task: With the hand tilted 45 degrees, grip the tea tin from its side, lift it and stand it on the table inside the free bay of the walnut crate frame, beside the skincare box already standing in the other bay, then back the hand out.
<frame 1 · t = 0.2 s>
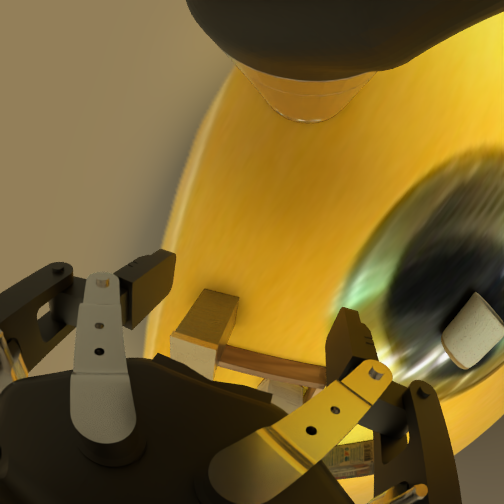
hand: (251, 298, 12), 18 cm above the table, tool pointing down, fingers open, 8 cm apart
skincare box: (281, 385, 38), resting in crate
beverage carton: (335, 450, 44), on the table
ceramic mug: (468, 318, 29), on the table
tea tin: (219, 307, 35), on the table
crate: (256, 380, 38), on the table
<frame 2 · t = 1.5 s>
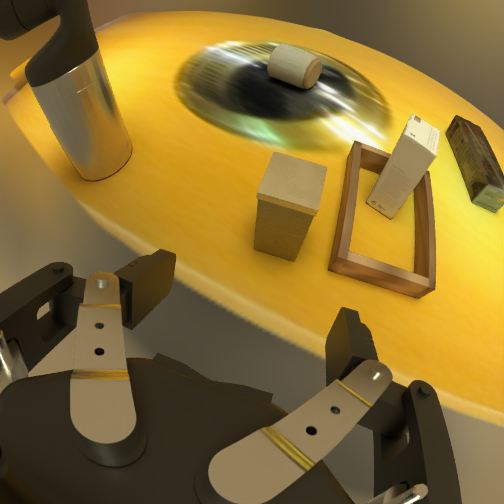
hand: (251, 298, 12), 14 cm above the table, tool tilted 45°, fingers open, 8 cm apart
skincare box: (383, 197, 34), resting in crate
beverage carton: (469, 171, 39), on the table
ceramic mug: (295, 80, 45), on the table
tea tin: (279, 237, 30), on the table
crate: (383, 220, 32), on the table
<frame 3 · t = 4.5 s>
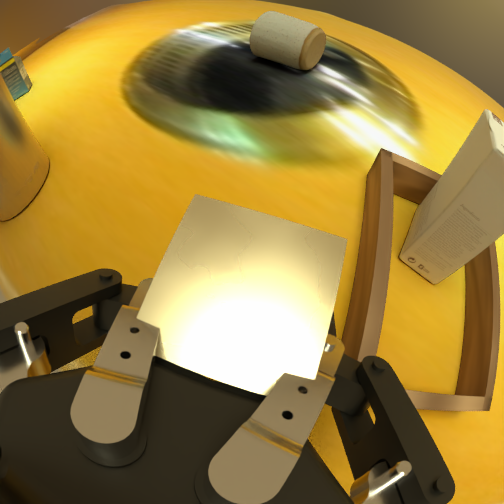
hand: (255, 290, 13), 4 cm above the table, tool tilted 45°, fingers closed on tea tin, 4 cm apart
skincare box: (423, 244, 20), resting in crate
ceramic mug: (289, 60, 32), on the table
tea tin: (243, 338, 16), on the table, touching gripper
label tape cartridge: (15, 98, 32), on the table
crate: (423, 287, 18), on the table
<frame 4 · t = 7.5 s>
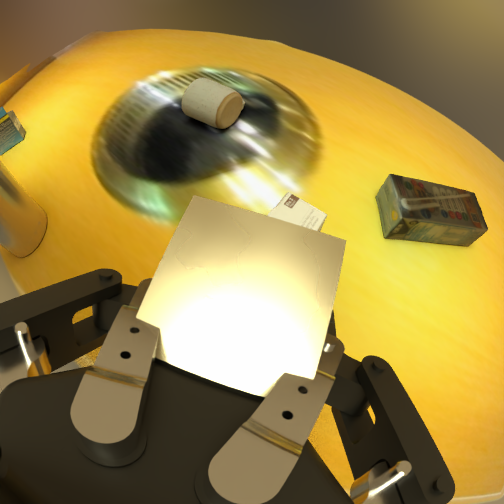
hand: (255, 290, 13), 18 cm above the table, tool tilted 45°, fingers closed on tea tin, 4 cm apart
skincare box: (274, 277, 33), resting in crate
beverage carton: (425, 223, 38), on the table
ceramic mug: (218, 116, 45), on the table
tea tin: (242, 339, 16), point 14 cm above the table, touching gripper
label tape cartridge: (13, 144, 44), on the table
when the fingers open (5 cm above the table, at t = 10.5 s): tea tin stays where it is, resting in crate.
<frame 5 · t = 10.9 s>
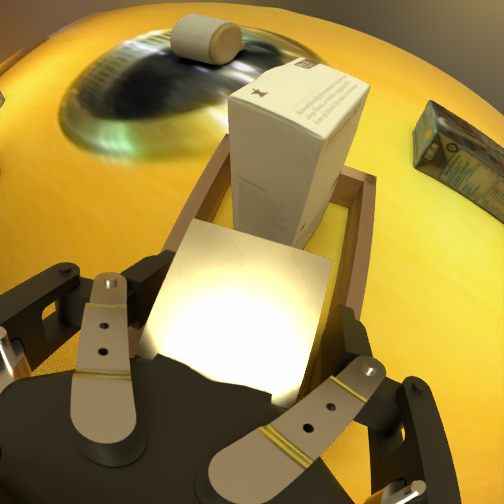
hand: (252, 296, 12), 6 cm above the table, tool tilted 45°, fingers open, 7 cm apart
skincare box: (279, 230, 21), resting in crate
beverage carton: (469, 184, 25), on the table
ceramic mug: (213, 57, 33), on the table
tea tin: (240, 343, 17), resting in crate
crate: (263, 277, 19), on the table
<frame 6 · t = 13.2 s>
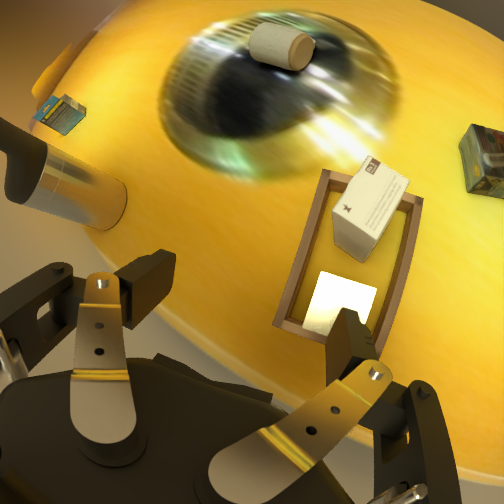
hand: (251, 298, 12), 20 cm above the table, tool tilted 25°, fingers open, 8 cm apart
skincare box: (361, 232, 30), resting in crate
ceramic mug: (290, 57, 37), on the table
tea tin: (338, 304, 30), resting in crate
label tape cartridge: (75, 122, 54), on the table
crate: (352, 264, 30), on the table
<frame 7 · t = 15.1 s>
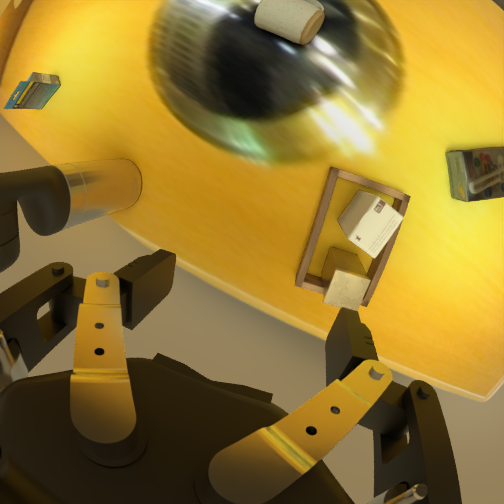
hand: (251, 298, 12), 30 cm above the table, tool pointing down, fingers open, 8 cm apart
skincare box: (358, 210, 39), resting in crate
beverage carton: (486, 170, 31), on the table
ceramic mug: (295, 22, 31), on the table
tea tin: (339, 263, 42), resting in crate
label tape cartridge: (50, 92, 42), on the table
crate: (350, 235, 40), on the table
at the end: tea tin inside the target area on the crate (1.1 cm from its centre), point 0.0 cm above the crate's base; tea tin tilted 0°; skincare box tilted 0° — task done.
